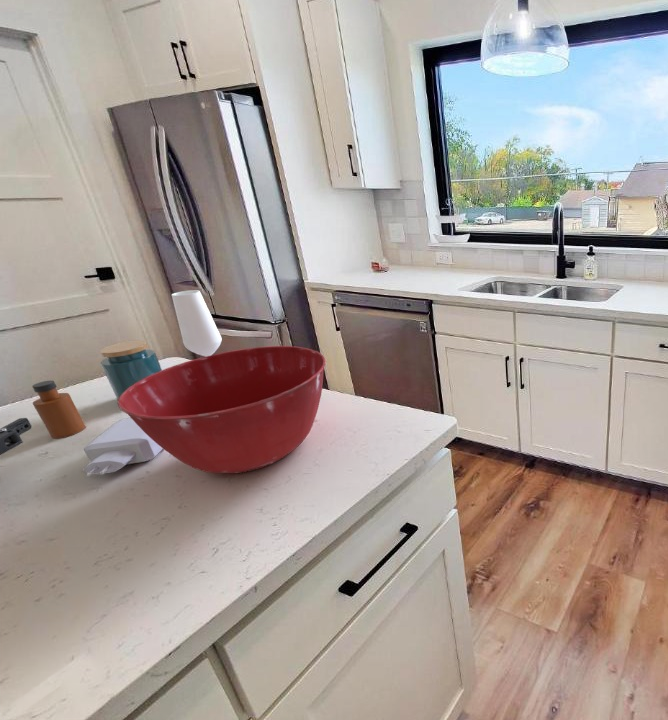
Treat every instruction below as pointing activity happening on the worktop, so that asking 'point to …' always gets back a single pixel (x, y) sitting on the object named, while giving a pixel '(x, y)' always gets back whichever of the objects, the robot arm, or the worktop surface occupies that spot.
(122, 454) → the charger
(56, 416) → the amber bottle
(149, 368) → the teal jar
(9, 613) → the worktop surface
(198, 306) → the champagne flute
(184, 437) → the mixing bowl
